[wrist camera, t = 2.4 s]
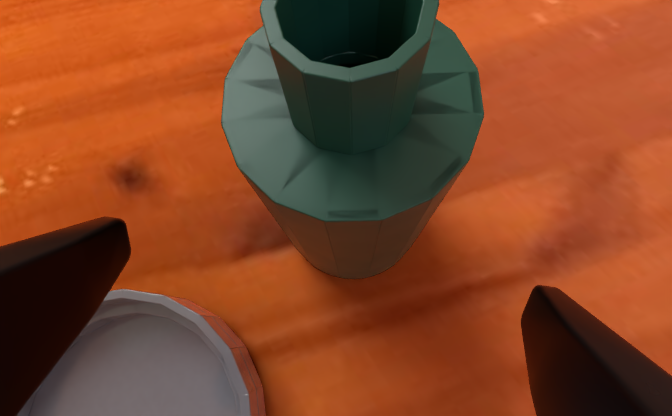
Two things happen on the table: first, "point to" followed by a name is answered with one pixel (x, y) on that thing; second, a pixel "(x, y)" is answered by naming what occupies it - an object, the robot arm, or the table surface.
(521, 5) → the table surface
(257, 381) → the dish
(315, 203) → the ink bottle
